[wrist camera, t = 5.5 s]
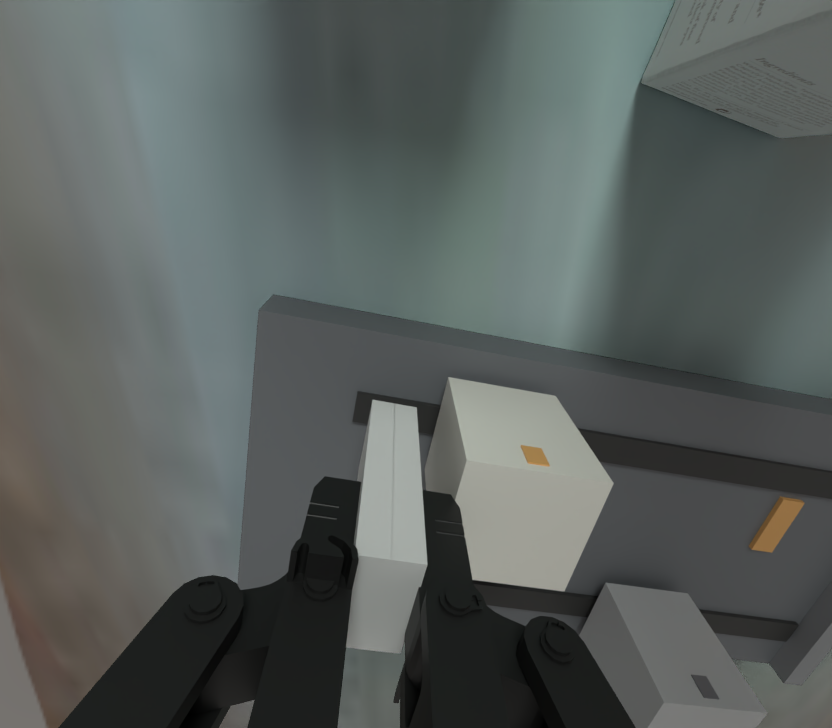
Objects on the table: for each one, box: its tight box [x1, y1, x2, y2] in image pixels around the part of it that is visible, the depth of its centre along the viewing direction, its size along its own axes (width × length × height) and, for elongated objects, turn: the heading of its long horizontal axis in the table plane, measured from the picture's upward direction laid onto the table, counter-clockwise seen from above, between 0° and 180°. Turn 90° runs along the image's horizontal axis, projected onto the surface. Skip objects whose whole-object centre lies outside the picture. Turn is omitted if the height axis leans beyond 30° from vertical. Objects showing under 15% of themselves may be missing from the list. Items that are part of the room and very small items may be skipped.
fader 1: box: [425, 377, 614, 591], centre depth 15 cm, size 4×4×5 cm
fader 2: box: [579, 583, 768, 728], centre depth 19 cm, size 4×4×5 cm
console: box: [238, 295, 832, 685], centre depth 20 cm, size 14×28×3 cm, turn 78°
